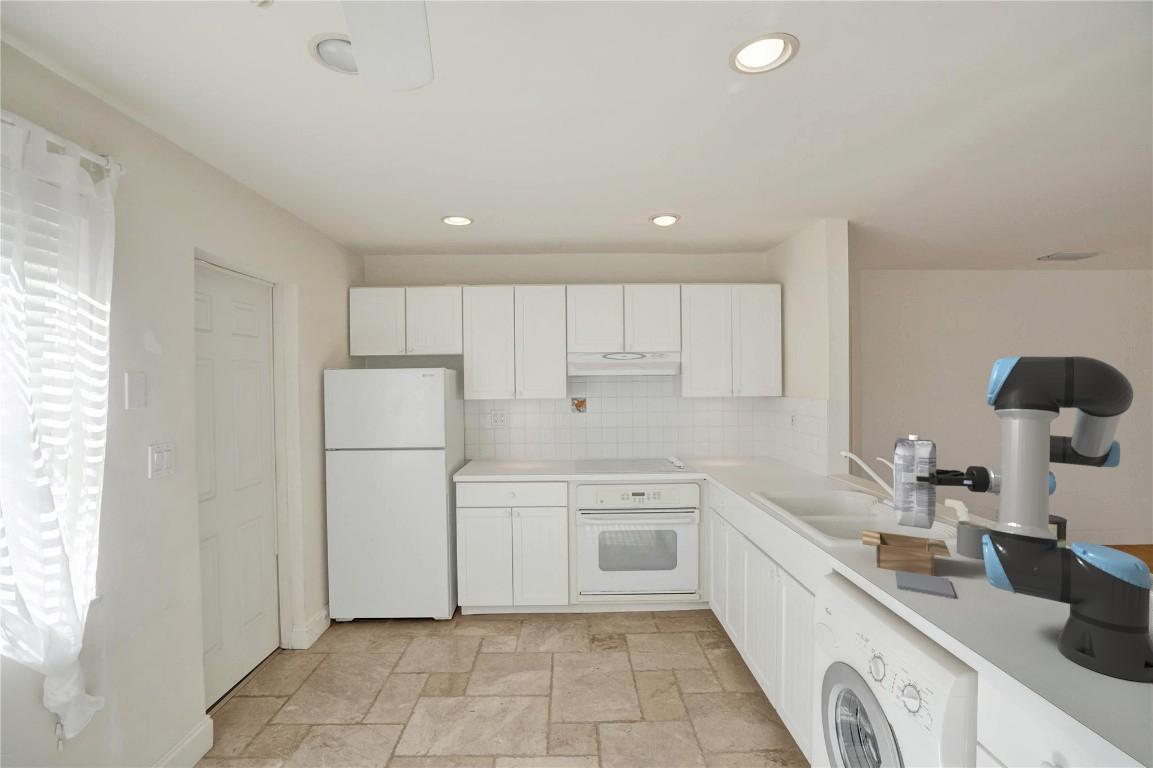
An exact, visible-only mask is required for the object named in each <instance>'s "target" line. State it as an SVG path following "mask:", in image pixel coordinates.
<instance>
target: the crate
mask: <svg viewBox="0 0 1153 768" xmlns="http://www.w3.org/2000/svg"><path fill="white" fill-rule="evenodd" d="M862 531H863V532H862V545H864V546H870V547H871V546H873V547H876V555H875V556H876V568H878V567H879V569H884V570H893V571H896V570H899V571H905V572H912V573H918V574H924V575H930V576H935V556H941V557H947V558H948V557H949V558H952V555H951V553H950V550H949V548H948V546H947V544H946V542H945V540H942V539H935V538H926V537H921V536H919V537H918V536H912V535H911V536H910V535H906V534H905V535H903V534H897V533H896V534H895V533H889V532H884V531H883V532H882V531H874V530H868V529H867V530H866V529H863V530H862Z"/></svg>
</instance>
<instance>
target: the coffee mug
mask: <svg viewBox="0 0 1153 768" xmlns="http://www.w3.org/2000/svg"><path fill="white" fill-rule="evenodd" d="M992 526H993V525H991V524H988V523H986V522H981V521H975V520H958V521H957V522H956V549H955V550H956V553H957V554H959V555H960V556H962V557H965V558H970V559H973V558H974V559H975V560H980V559H981V560H982V561H984V553H983V542H982V537H983V536H984V535H987V534H988V535H990V532H991V527H992ZM981 560H980V561H981Z"/></svg>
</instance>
